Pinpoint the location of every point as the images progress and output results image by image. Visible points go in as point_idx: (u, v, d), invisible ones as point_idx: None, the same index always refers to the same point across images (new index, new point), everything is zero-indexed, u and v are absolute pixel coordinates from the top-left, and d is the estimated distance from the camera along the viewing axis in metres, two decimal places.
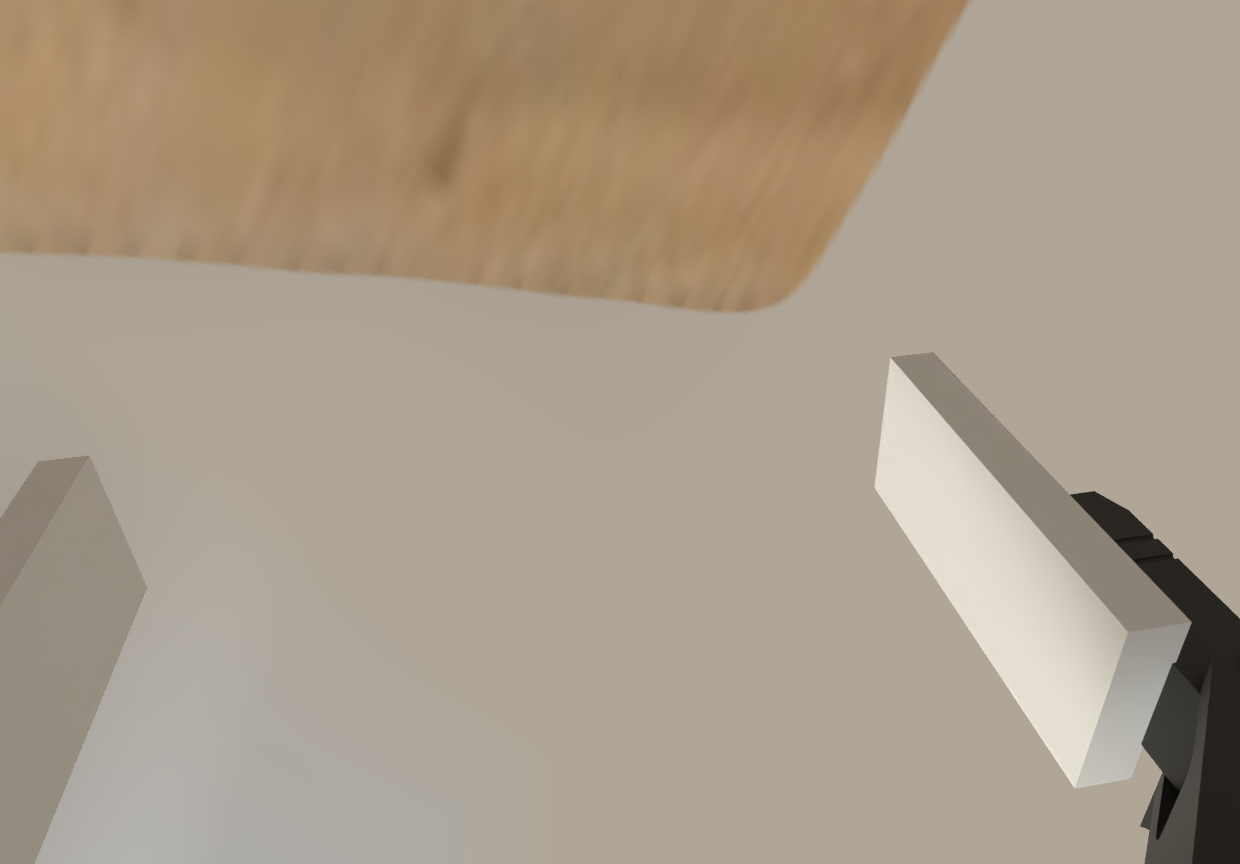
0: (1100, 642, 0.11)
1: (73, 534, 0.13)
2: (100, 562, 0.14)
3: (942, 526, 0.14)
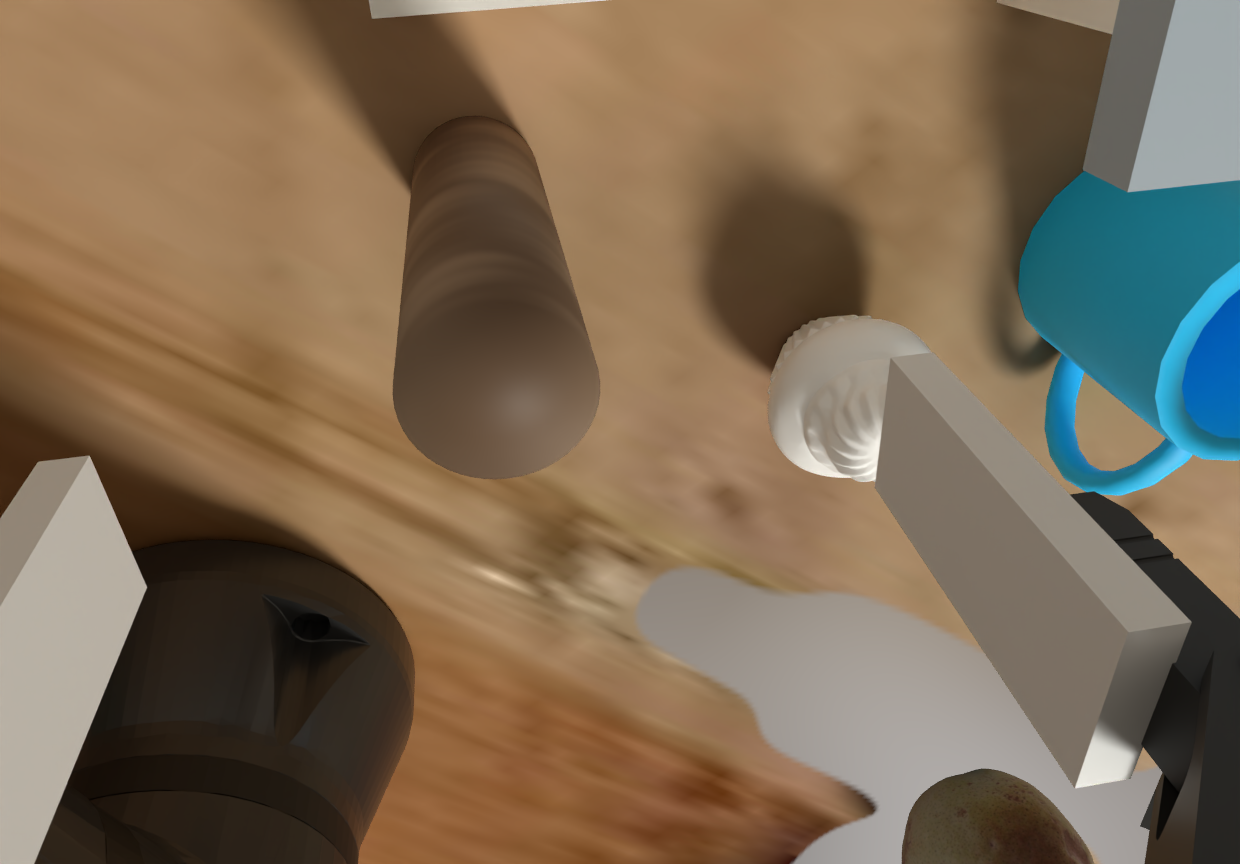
0: (1100, 642, 0.11)
1: (73, 534, 0.13)
2: (100, 562, 0.14)
3: (942, 526, 0.14)
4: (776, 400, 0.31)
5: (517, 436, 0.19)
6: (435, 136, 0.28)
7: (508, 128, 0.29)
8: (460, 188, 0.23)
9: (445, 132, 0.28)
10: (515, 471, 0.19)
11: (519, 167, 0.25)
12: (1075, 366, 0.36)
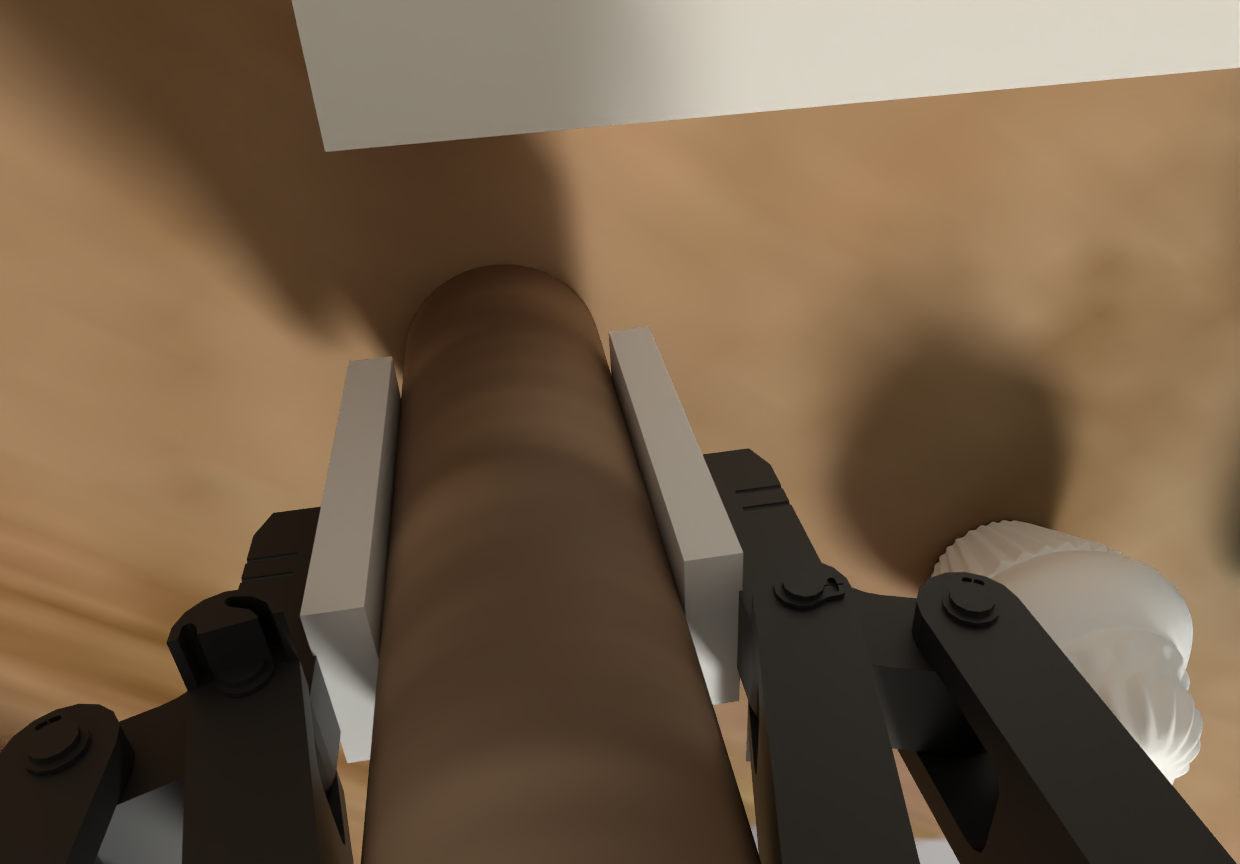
0: (679, 573, 0.12)
1: (393, 419, 0.16)
2: None
3: None
4: None
5: None
6: (440, 303, 0.17)
7: (556, 284, 0.18)
8: (486, 473, 0.12)
9: (457, 300, 0.17)
10: None
11: (585, 388, 0.15)
12: None
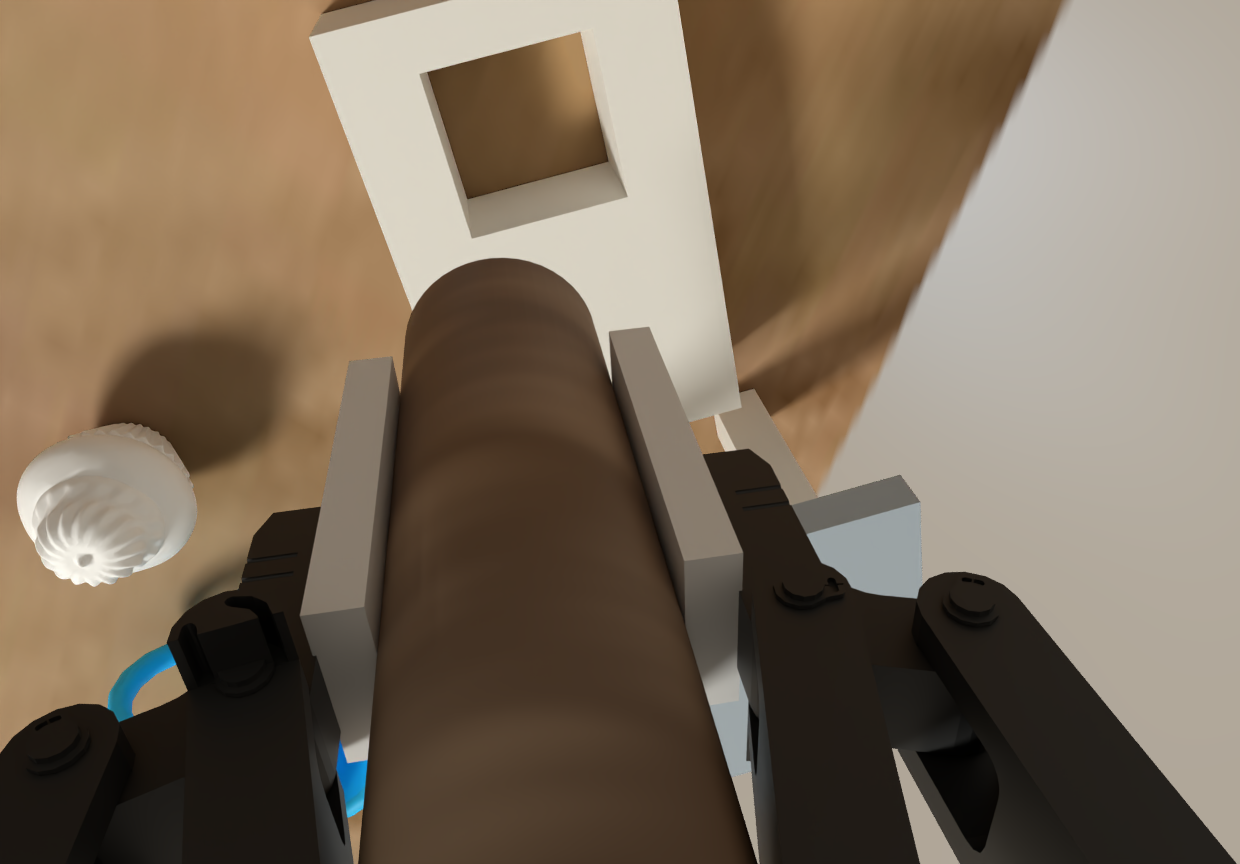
0: (679, 573, 0.12)
1: (393, 419, 0.16)
2: None
3: None
4: (81, 446, 0.33)
5: None
6: (440, 295, 0.18)
7: (553, 277, 0.18)
8: (483, 455, 0.13)
9: (455, 291, 0.17)
10: None
11: (580, 376, 0.15)
12: None
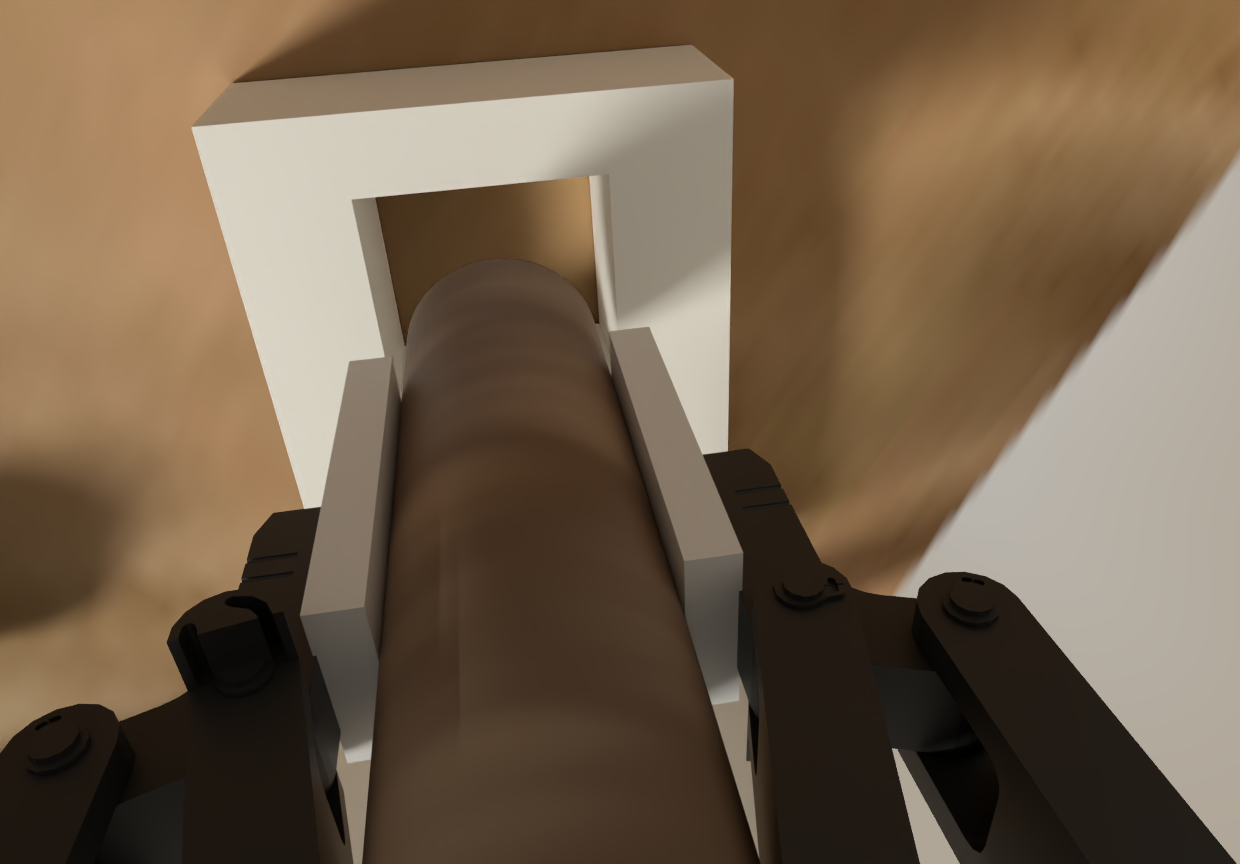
0: (679, 573, 0.12)
1: (393, 419, 0.16)
2: None
3: None
4: None
5: None
6: (441, 295, 0.18)
7: (554, 277, 0.18)
8: (486, 456, 0.13)
9: (457, 292, 0.17)
10: None
11: (581, 377, 0.15)
12: None
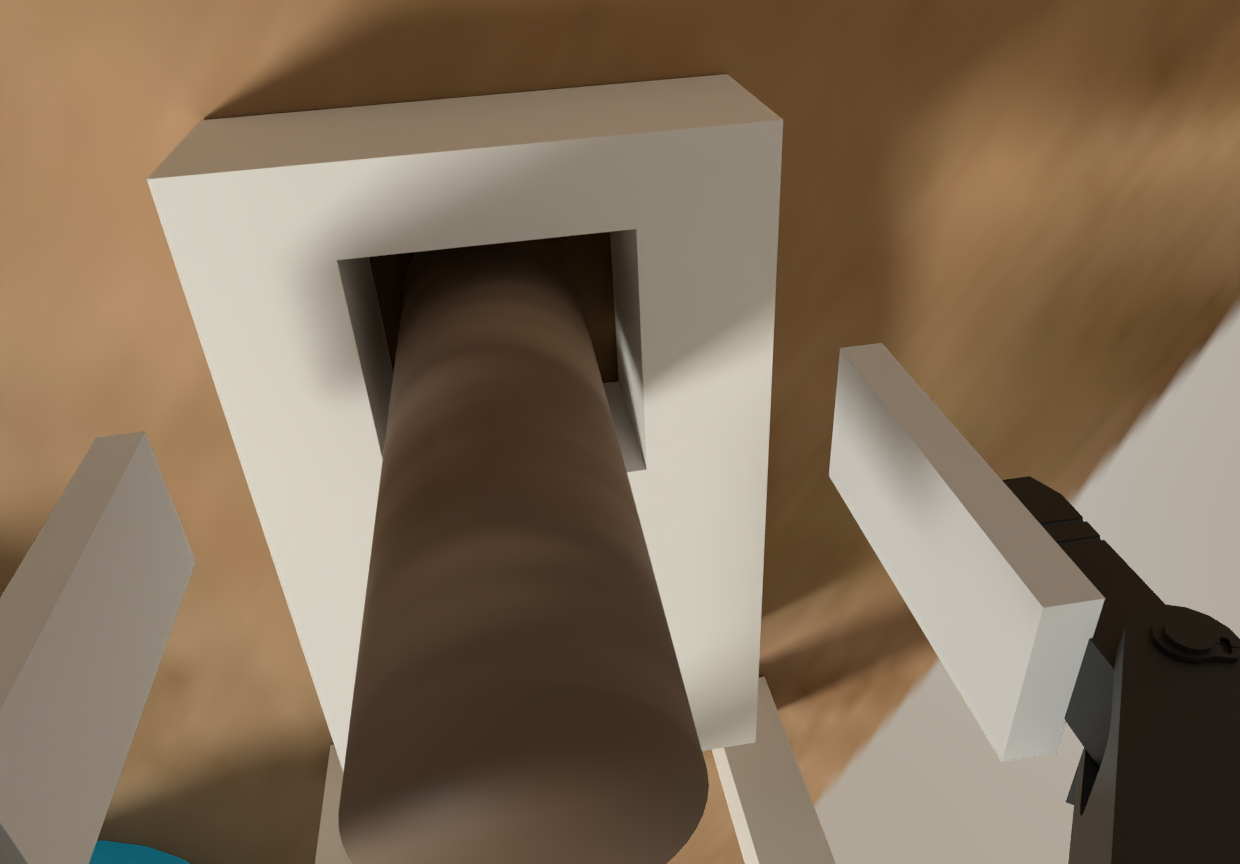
0: (1020, 619, 0.11)
1: (133, 506, 0.14)
2: (156, 534, 0.15)
3: (886, 512, 0.15)
4: None
5: None
6: None
7: None
8: (466, 362, 0.15)
9: None
10: None
11: (554, 307, 0.17)
12: None
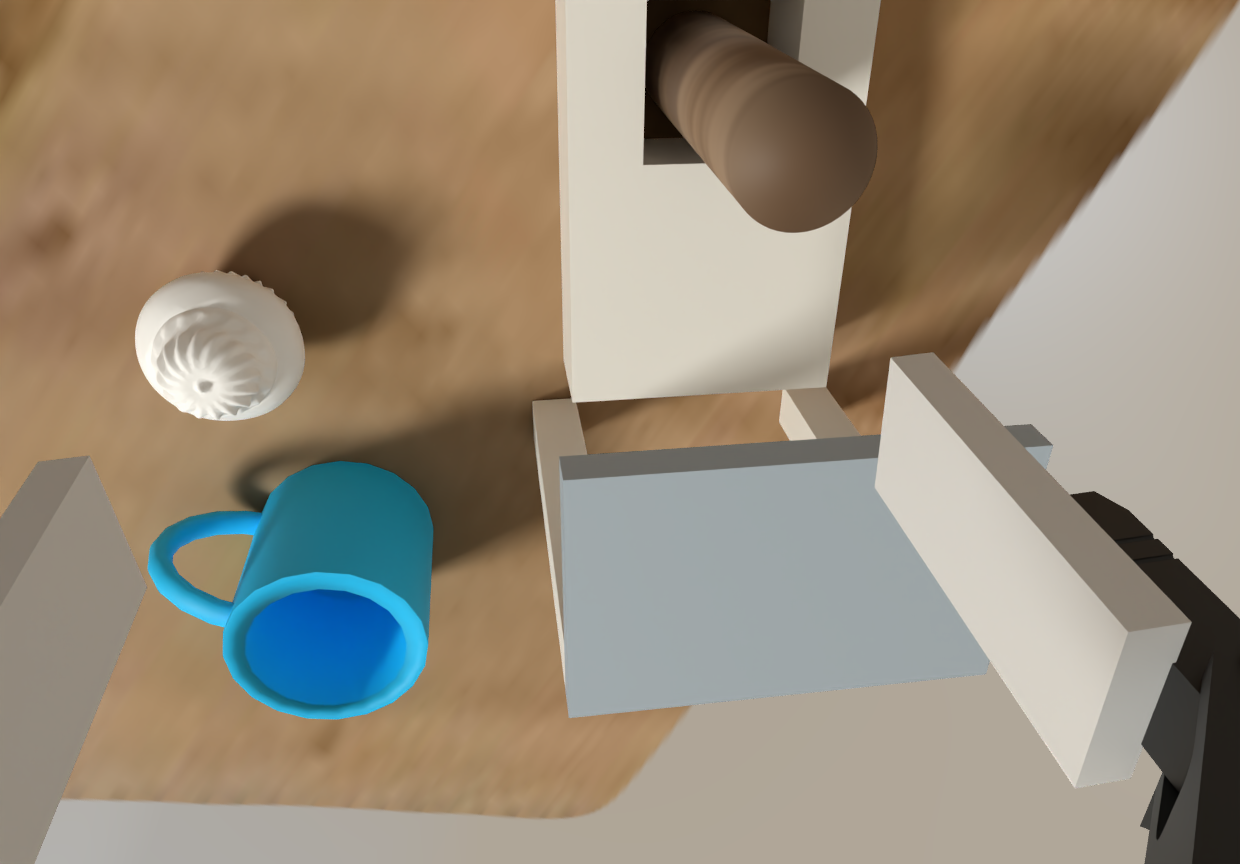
0: (1100, 642, 0.11)
1: (73, 534, 0.13)
2: (100, 562, 0.14)
3: (942, 526, 0.14)
4: (220, 279, 0.34)
5: (809, 197, 0.25)
6: (672, 22, 0.34)
7: None
8: (731, 39, 0.29)
9: (683, 18, 0.34)
10: (800, 227, 0.25)
11: None
12: (250, 525, 0.43)
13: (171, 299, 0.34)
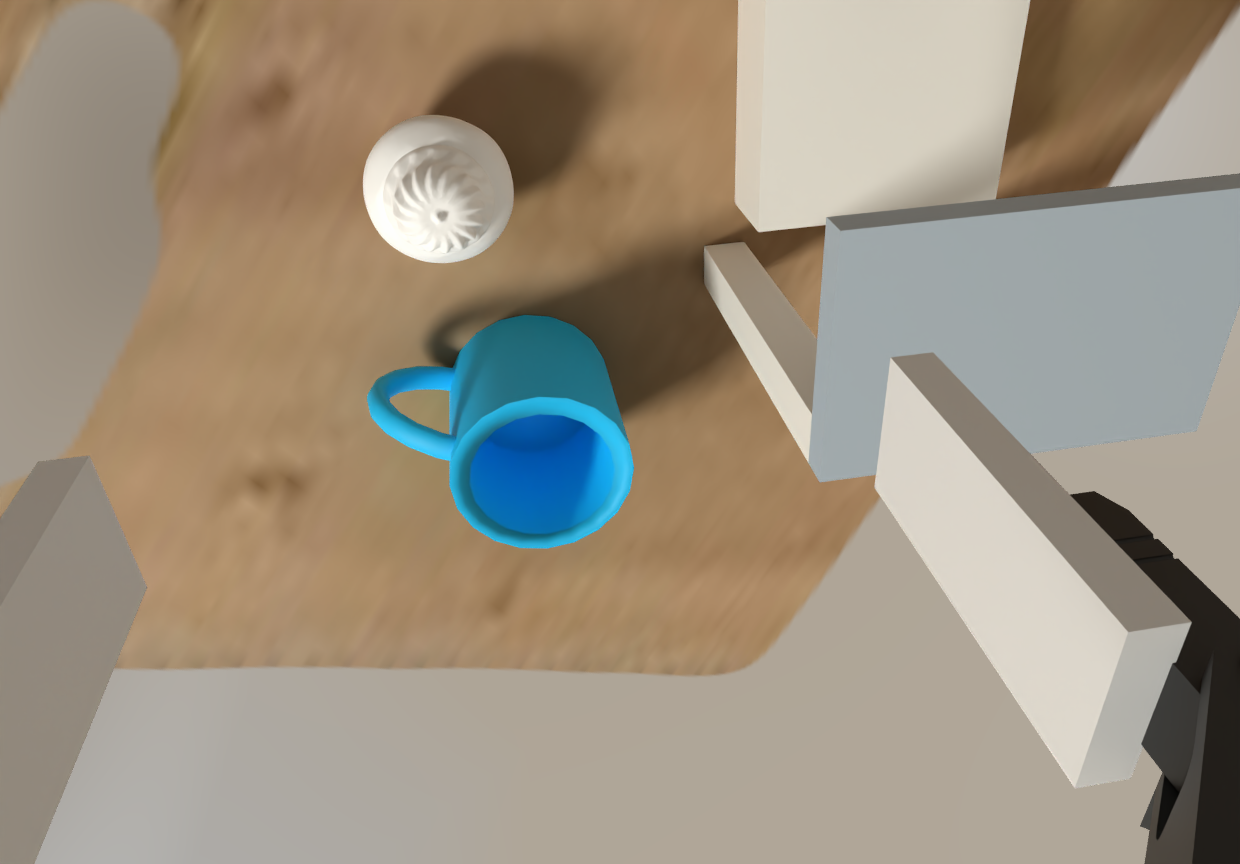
0: (1100, 642, 0.11)
1: (73, 534, 0.13)
2: (100, 562, 0.14)
3: (942, 526, 0.14)
4: (443, 119, 0.36)
5: None
6: None
7: None
8: None
9: None
10: None
11: None
12: (446, 379, 0.45)
13: (400, 139, 0.36)
